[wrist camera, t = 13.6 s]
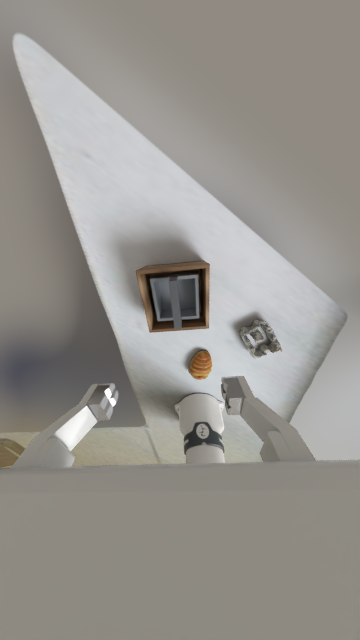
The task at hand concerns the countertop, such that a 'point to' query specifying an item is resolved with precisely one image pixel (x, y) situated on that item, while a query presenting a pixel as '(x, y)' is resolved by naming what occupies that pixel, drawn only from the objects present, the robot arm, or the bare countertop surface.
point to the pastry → (200, 365)
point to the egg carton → (260, 339)
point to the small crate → (176, 296)
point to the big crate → (148, 301)
